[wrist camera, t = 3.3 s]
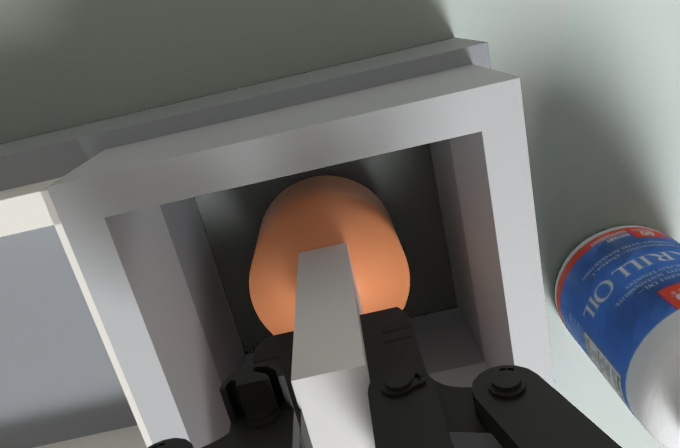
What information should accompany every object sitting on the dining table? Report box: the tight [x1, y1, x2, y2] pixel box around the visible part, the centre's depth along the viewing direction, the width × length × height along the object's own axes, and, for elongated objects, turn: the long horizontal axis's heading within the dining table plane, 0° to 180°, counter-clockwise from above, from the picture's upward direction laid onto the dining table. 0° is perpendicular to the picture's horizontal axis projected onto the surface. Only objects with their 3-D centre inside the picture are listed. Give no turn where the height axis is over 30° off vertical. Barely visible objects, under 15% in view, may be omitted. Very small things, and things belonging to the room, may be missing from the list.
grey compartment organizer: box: [0, 38, 555, 448], centre depth 19 cm, size 22×12×8 cm, turn 103°
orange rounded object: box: [249, 175, 410, 335], centre depth 20 cm, size 5×5×4 cm
